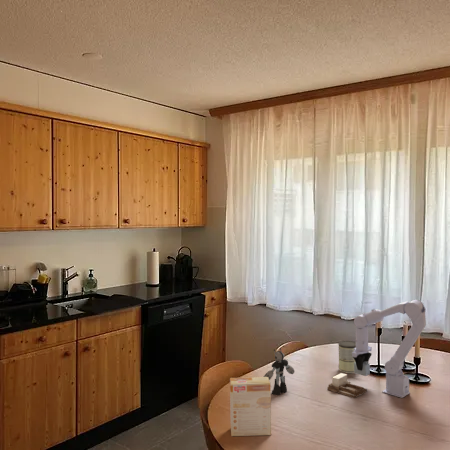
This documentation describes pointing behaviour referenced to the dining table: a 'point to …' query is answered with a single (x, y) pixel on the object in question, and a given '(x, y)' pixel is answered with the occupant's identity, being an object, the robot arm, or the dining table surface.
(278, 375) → the robot
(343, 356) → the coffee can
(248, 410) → the coffeecake box
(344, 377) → the cream rectangular block
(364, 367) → the blue box with knob
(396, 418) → the dining table surface
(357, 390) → the jig
